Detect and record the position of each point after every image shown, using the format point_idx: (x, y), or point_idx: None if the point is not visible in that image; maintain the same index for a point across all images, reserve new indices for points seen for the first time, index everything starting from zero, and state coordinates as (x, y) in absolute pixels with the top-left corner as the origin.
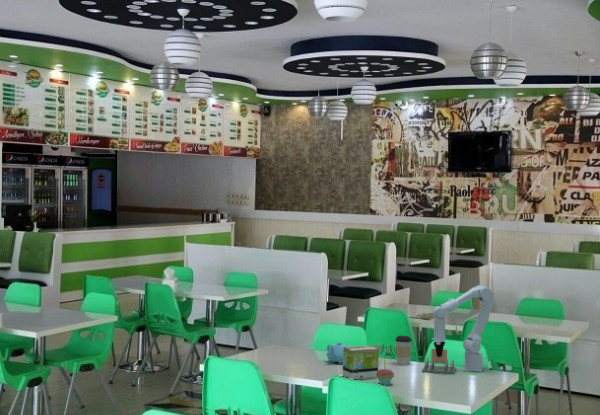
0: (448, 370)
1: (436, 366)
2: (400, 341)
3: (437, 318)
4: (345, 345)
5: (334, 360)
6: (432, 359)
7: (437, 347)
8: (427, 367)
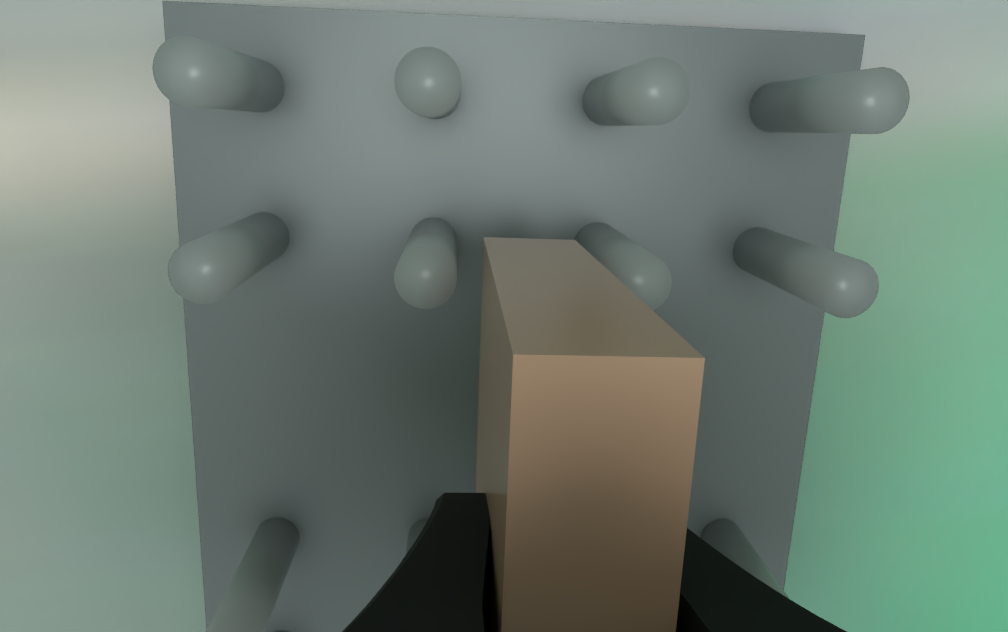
0: (370, 592)
1: (735, 324)
2: None
3: None
4: None
5: None
6: (485, 294)
7: None
8: (566, 119)
